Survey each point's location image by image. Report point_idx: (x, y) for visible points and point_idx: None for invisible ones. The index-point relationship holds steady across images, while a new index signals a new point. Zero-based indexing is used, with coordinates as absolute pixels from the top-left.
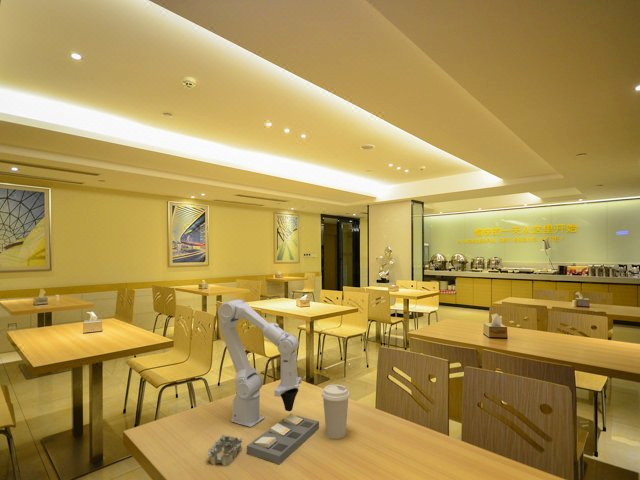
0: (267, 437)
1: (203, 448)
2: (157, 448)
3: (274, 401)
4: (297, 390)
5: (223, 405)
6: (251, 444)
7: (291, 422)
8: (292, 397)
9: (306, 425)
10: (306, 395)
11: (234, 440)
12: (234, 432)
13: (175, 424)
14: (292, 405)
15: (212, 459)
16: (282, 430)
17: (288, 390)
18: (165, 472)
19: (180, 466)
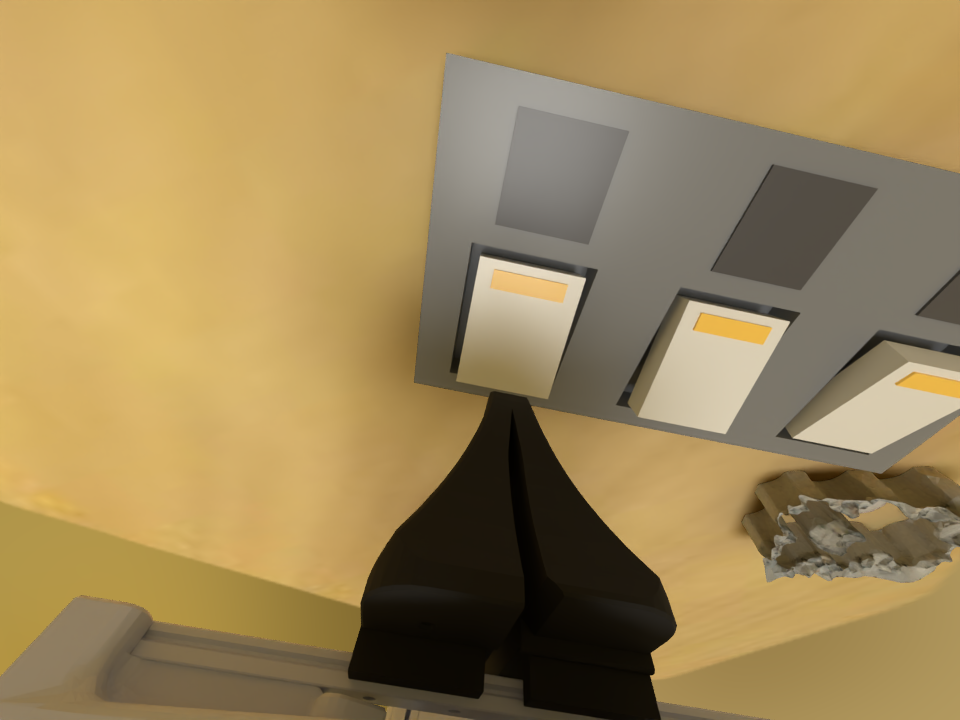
0: (841, 411)
1: (756, 567)
2: (739, 638)
3: (264, 486)
4: (446, 572)
5: None
6: (872, 458)
7: (568, 330)
8: (554, 513)
9: (583, 177)
10: (53, 368)
11: (787, 527)
12: (619, 528)
13: None
14: (505, 420)
15: (933, 538)
16: (725, 352)
17: (584, 689)
18: (915, 597)
19: (886, 581)
